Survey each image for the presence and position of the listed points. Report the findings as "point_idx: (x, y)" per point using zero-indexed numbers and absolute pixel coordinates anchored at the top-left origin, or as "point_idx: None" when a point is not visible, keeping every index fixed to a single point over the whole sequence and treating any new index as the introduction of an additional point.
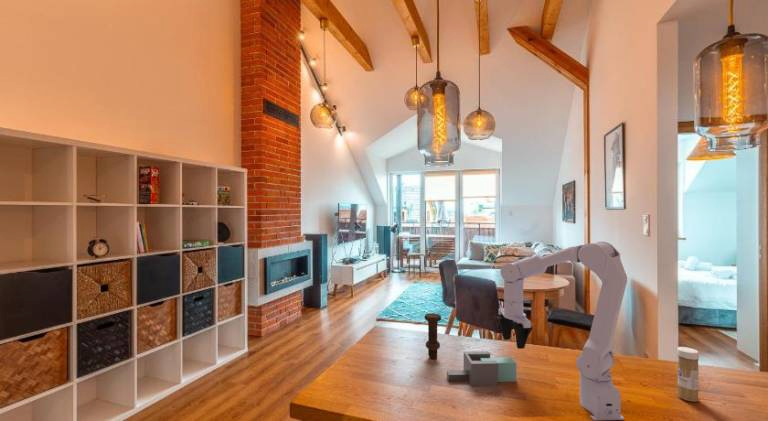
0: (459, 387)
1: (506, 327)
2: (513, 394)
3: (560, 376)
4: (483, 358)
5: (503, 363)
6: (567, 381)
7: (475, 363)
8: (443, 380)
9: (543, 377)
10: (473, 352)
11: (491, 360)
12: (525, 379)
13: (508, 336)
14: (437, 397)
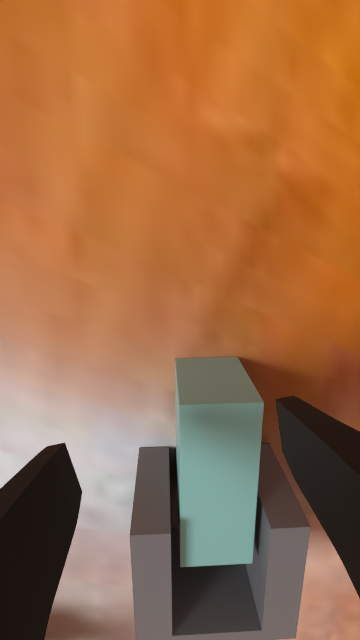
0: None
1: (22, 604)
2: (343, 407)
3: (197, 83)
4: (192, 553)
5: (258, 470)
6: (261, 75)
7: (295, 622)
8: None
9: (205, 200)
10: (149, 608)
11: (220, 521)
12: (221, 307)
13: (60, 479)
14: (321, 630)
